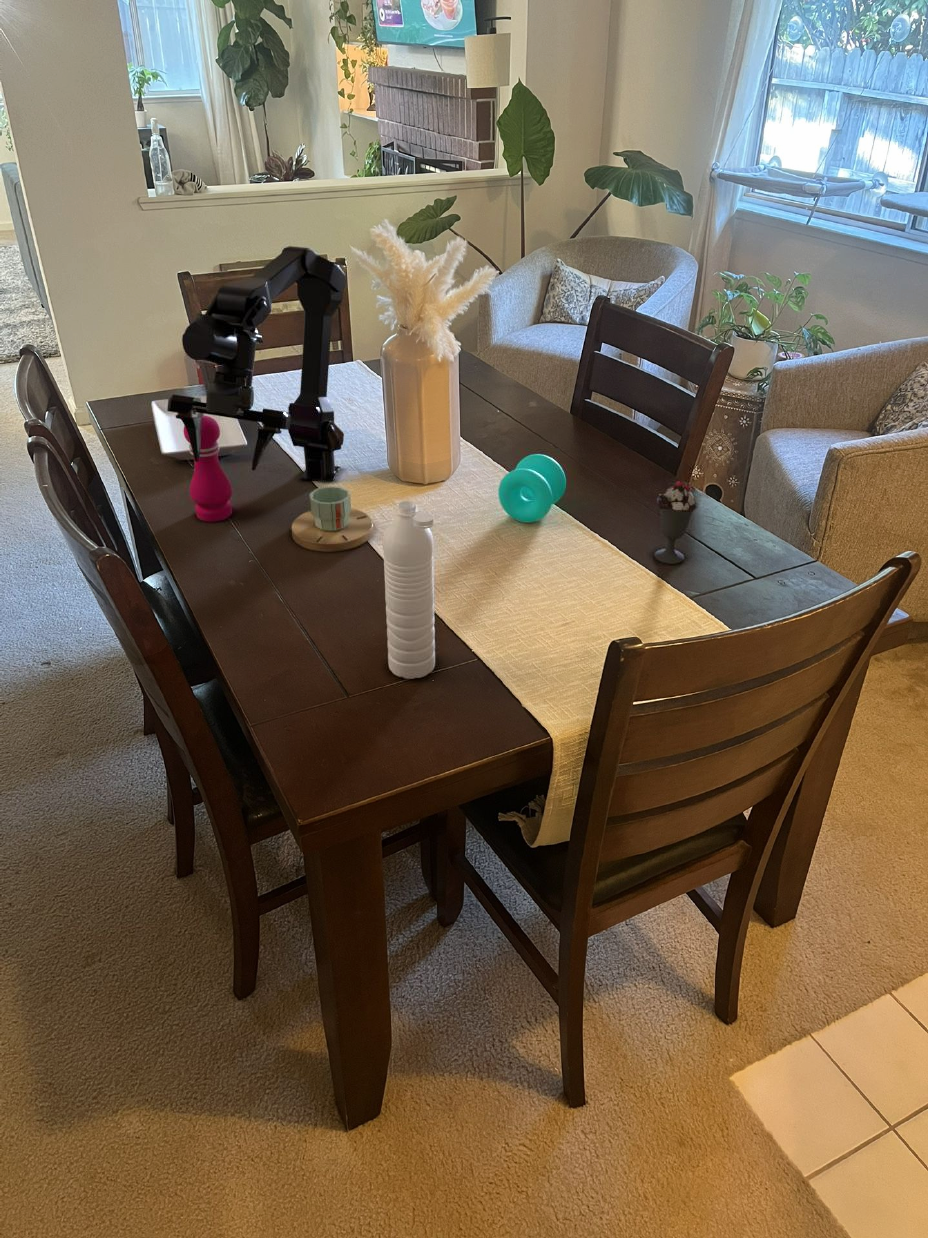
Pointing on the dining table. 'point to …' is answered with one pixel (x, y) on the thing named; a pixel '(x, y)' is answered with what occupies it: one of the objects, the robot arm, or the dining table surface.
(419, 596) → the water bottle
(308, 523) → the turntable
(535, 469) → the teal yo-yo
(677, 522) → the sundae
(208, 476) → the pepper mill
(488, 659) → the dining table surface
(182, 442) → the tray
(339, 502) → the green cup
